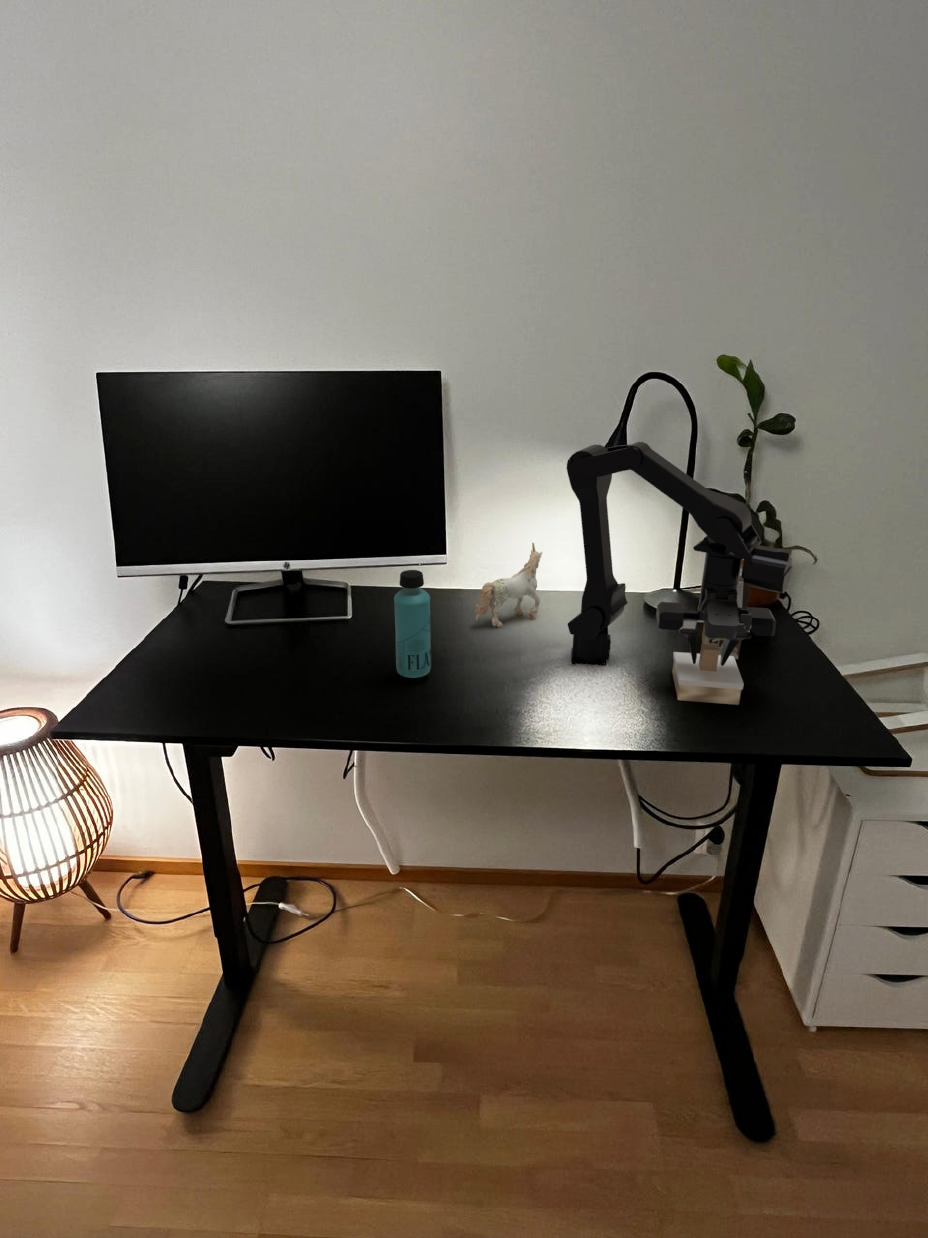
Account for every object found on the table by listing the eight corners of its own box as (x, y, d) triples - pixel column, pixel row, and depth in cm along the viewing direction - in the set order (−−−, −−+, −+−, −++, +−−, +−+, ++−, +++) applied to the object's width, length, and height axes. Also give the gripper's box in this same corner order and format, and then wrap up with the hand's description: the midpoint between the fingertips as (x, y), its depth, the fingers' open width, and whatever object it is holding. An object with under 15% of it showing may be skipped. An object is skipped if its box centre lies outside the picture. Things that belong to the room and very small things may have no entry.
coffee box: (739, 661, 151) (752, 581, 144) (703, 658, 152) (715, 578, 146) (734, 640, 159) (746, 564, 153) (700, 637, 160) (711, 561, 154)
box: (677, 702, 137) (679, 684, 136) (672, 674, 146) (674, 657, 145) (738, 707, 136) (741, 688, 135) (729, 678, 145) (731, 661, 144)
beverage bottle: (404, 689, 141) (401, 582, 133) (389, 672, 146) (386, 569, 138) (438, 681, 144) (437, 575, 135) (422, 665, 149) (421, 563, 141)
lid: (678, 684, 136) (682, 658, 134) (673, 656, 145) (676, 631, 143) (742, 689, 134) (747, 662, 132) (732, 661, 144) (737, 635, 142)
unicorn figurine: (557, 608, 173) (560, 549, 167) (499, 638, 160) (501, 575, 154) (530, 600, 177) (532, 542, 172) (472, 627, 164) (473, 566, 158)
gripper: (666, 594, 126) (656, 682, 133) (790, 602, 124) (773, 690, 131) (660, 569, 136) (651, 652, 143) (775, 575, 134) (760, 659, 141)
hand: (707, 663), depth 139 cm, fingers open, 4 cm apart
